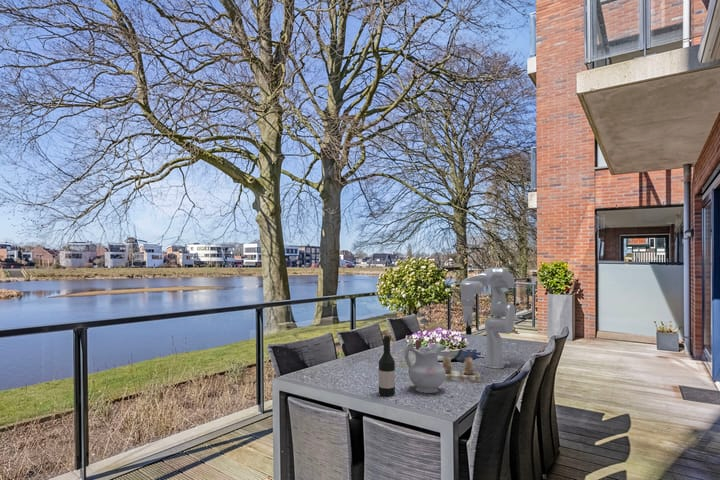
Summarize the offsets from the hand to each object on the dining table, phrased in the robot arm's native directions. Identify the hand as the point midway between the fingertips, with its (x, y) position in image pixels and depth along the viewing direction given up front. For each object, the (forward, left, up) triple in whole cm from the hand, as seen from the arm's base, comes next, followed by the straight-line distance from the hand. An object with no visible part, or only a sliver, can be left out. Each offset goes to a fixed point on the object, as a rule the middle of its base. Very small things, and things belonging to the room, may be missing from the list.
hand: (468, 334), depth 253 cm
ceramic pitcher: (+25, +31, -25) cm, 47 cm away
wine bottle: (+44, +42, -25) cm, 66 cm away
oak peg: (0, +4, -25) cm, 25 cm away
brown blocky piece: (+28, -11, -25) cm, 39 cm away
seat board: (+6, +5, -25) cm, 26 cm away
